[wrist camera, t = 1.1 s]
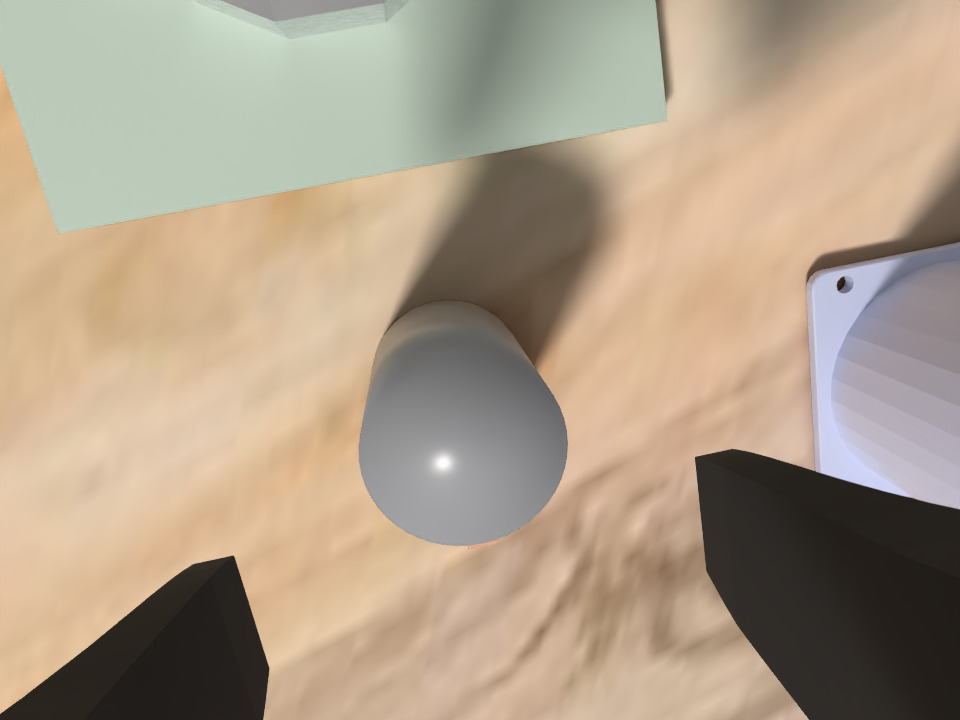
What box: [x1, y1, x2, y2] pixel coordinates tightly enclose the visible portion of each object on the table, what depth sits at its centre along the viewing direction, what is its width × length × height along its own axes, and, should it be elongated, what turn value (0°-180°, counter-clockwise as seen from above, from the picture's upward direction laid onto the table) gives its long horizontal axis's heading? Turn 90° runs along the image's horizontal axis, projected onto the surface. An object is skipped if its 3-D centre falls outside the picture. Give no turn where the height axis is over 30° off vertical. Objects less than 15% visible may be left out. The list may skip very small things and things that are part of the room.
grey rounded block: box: [359, 300, 568, 549], centre depth 18 cm, size 4×5×6 cm
